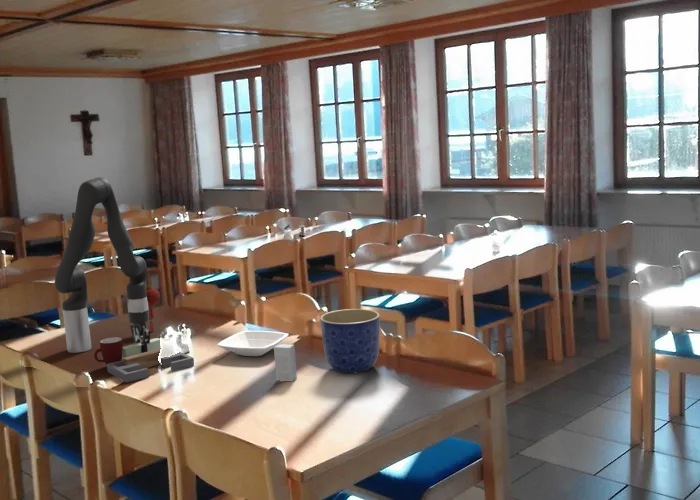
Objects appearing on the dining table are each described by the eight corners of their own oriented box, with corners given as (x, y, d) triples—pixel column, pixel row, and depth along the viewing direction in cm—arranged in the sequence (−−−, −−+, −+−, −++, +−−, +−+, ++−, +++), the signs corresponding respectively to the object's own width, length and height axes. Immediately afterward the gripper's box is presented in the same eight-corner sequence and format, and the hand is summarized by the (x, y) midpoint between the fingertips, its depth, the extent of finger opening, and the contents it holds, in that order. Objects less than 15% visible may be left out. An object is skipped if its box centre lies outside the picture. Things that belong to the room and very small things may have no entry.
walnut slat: (123, 371, 299) (122, 358, 298) (162, 360, 309) (161, 348, 309) (128, 373, 296) (127, 359, 295) (167, 362, 307) (166, 349, 306)
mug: (100, 372, 298) (97, 346, 296) (92, 367, 304) (89, 341, 303) (128, 366, 304) (125, 340, 302) (120, 361, 310) (117, 336, 309)
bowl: (213, 360, 306) (211, 345, 305) (243, 343, 327) (242, 329, 326) (266, 364, 297) (265, 349, 296) (294, 346, 318) (293, 332, 317)
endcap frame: (107, 371, 298) (106, 363, 298) (173, 356, 314) (172, 348, 313) (126, 382, 284) (125, 374, 284) (194, 365, 300) (193, 357, 299)
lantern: (160, 334, 348) (153, 264, 343) (138, 335, 348) (131, 265, 343) (165, 328, 357) (159, 260, 352) (144, 329, 357) (137, 261, 352)
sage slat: (121, 360, 310) (120, 347, 309) (157, 350, 321) (156, 337, 321) (126, 362, 308) (125, 349, 307) (162, 351, 319) (161, 339, 318)
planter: (394, 366, 287) (391, 313, 284) (354, 382, 272) (351, 326, 269) (351, 356, 301) (348, 306, 298) (310, 371, 286) (307, 318, 283)
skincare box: (297, 378, 279) (294, 344, 277) (292, 382, 275) (290, 347, 273) (280, 377, 281) (278, 343, 279) (275, 381, 277) (273, 347, 275)
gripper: (121, 308, 315) (125, 351, 318) (136, 314, 304) (140, 358, 307) (139, 304, 319) (143, 347, 322) (155, 310, 308) (159, 354, 311)
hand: (142, 352), depth 314 cm, fingers closed on sage slat, 4 cm apart
